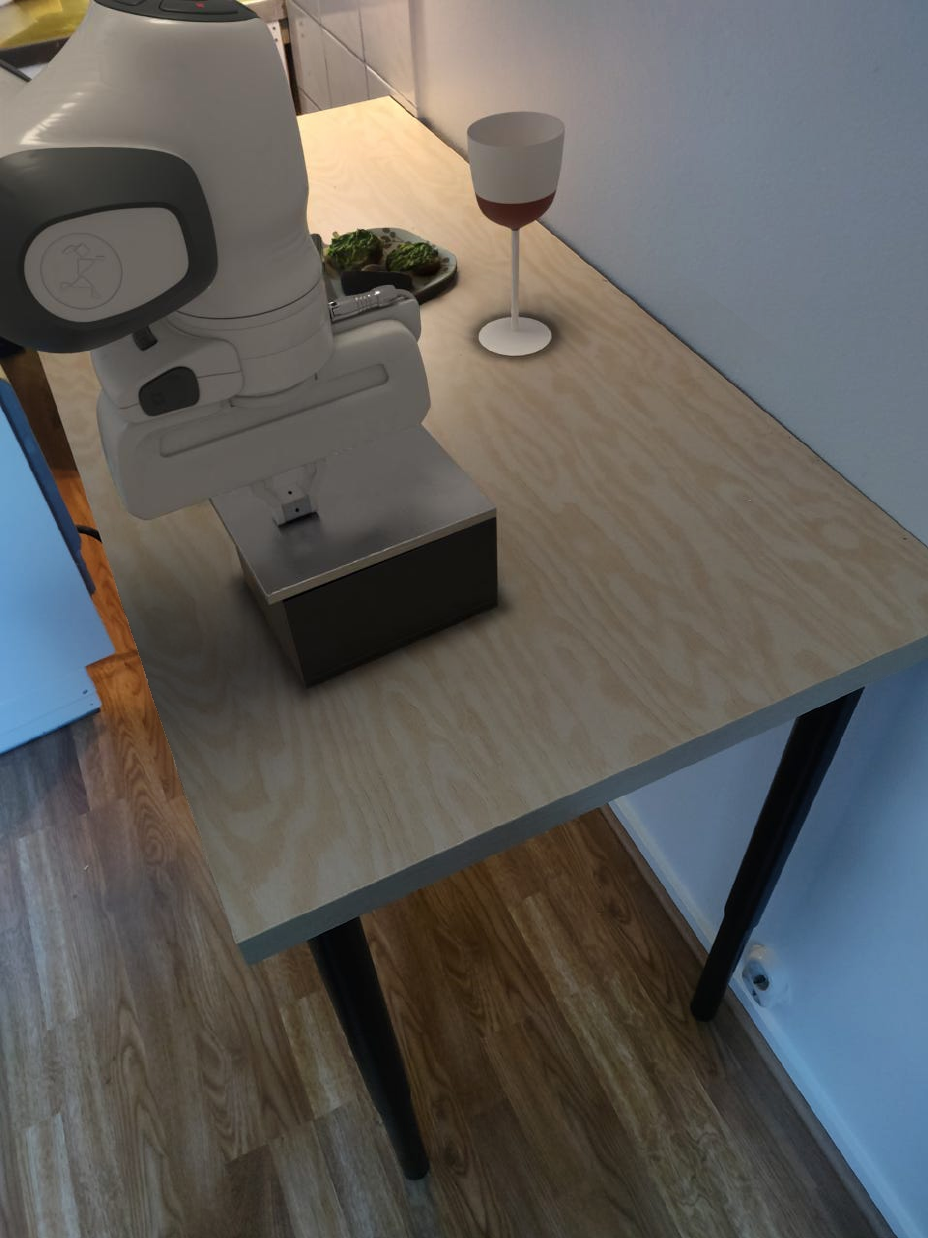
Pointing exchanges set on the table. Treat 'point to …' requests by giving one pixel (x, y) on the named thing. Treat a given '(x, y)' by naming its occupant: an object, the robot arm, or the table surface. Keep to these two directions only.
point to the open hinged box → (385, 603)
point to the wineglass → (515, 202)
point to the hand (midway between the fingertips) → (294, 513)
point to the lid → (355, 513)
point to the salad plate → (384, 263)
